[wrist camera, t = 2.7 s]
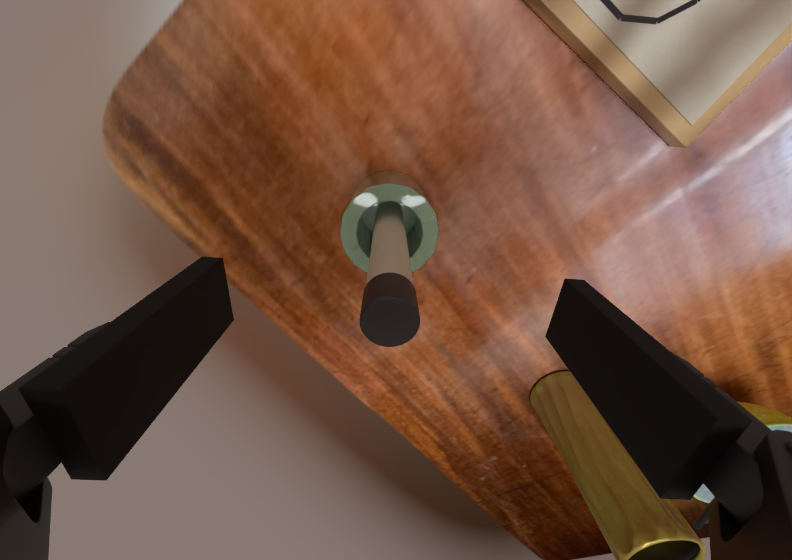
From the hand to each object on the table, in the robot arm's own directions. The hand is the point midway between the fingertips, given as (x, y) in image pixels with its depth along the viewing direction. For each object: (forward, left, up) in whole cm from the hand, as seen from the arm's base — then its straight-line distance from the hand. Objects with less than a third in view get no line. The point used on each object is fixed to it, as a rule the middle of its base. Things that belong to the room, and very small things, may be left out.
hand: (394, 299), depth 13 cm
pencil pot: (0, 0, -13) cm, 13 cm away
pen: (0, 0, -13) cm, 13 cm away
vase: (+25, -6, -14) cm, 29 cm away
